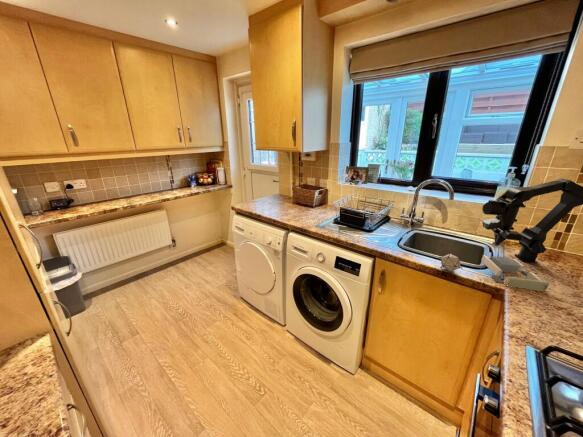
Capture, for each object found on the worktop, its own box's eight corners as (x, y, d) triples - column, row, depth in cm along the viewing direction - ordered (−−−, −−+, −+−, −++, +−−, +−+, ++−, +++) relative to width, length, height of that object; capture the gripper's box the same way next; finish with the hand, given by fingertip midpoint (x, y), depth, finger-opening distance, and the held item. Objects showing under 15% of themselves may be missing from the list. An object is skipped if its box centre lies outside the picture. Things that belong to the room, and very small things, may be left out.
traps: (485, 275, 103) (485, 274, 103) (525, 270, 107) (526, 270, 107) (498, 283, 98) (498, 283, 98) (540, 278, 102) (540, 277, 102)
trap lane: (481, 260, 115) (483, 255, 114) (512, 264, 112) (515, 258, 111) (506, 286, 97) (509, 280, 95) (544, 291, 94) (548, 285, 93)
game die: (442, 274, 110) (441, 252, 112) (464, 275, 104) (463, 253, 107) (437, 272, 104) (436, 249, 106) (461, 273, 98) (459, 249, 100)
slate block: (489, 263, 113) (492, 256, 112) (505, 264, 112) (508, 257, 111) (498, 271, 107) (501, 264, 105) (516, 273, 106) (519, 265, 104)
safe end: (504, 284, 98) (508, 276, 96) (542, 289, 95) (546, 281, 94) (506, 286, 97) (510, 278, 95) (544, 291, 94) (549, 283, 92)
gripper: (478, 207, 119) (468, 234, 125) (500, 221, 102) (488, 252, 108) (503, 209, 117) (492, 237, 123) (529, 223, 100) (516, 255, 106)
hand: (496, 244), depth 115 cm, fingers closed
